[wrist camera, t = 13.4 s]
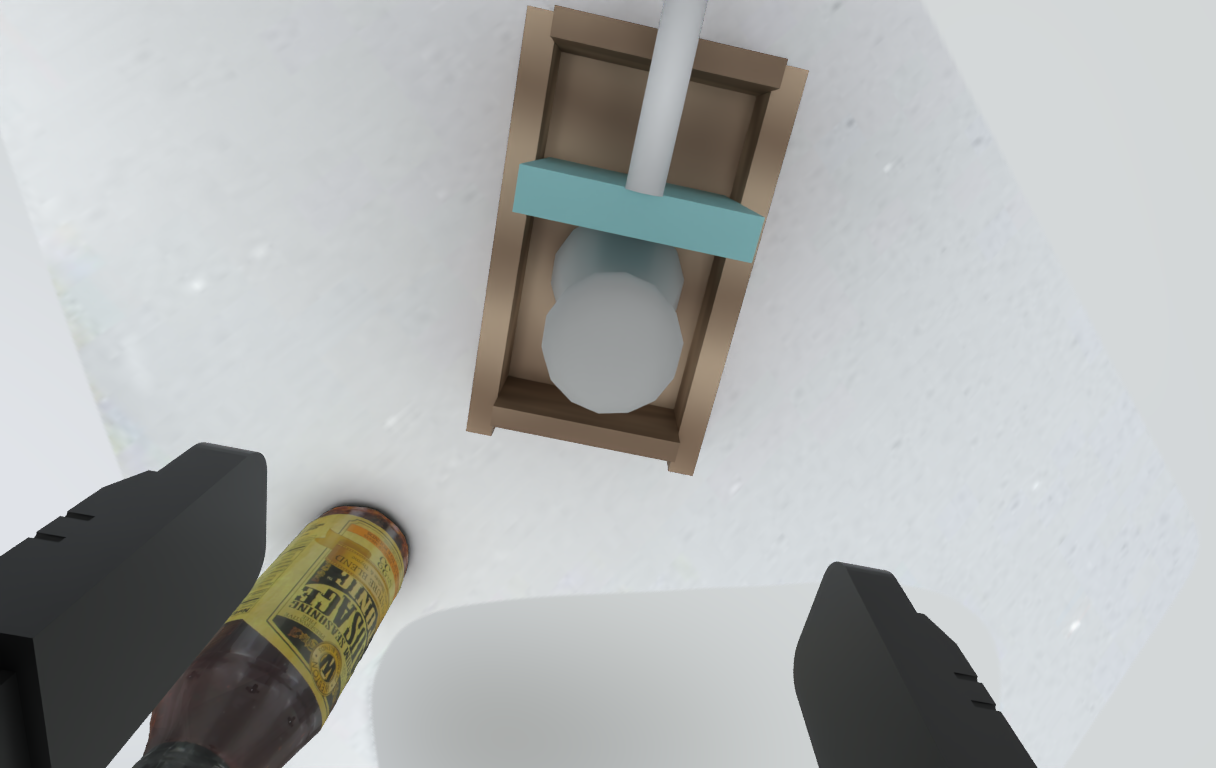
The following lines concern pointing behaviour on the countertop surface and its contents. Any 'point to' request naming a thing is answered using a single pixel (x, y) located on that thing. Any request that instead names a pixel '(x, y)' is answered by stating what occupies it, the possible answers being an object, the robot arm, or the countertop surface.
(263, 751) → the sauce bottle
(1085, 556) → the countertop surface
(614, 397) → the salt shaker
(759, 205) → the wooden tray
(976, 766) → the robot arm
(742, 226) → the pusher paddle
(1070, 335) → the countertop surface
